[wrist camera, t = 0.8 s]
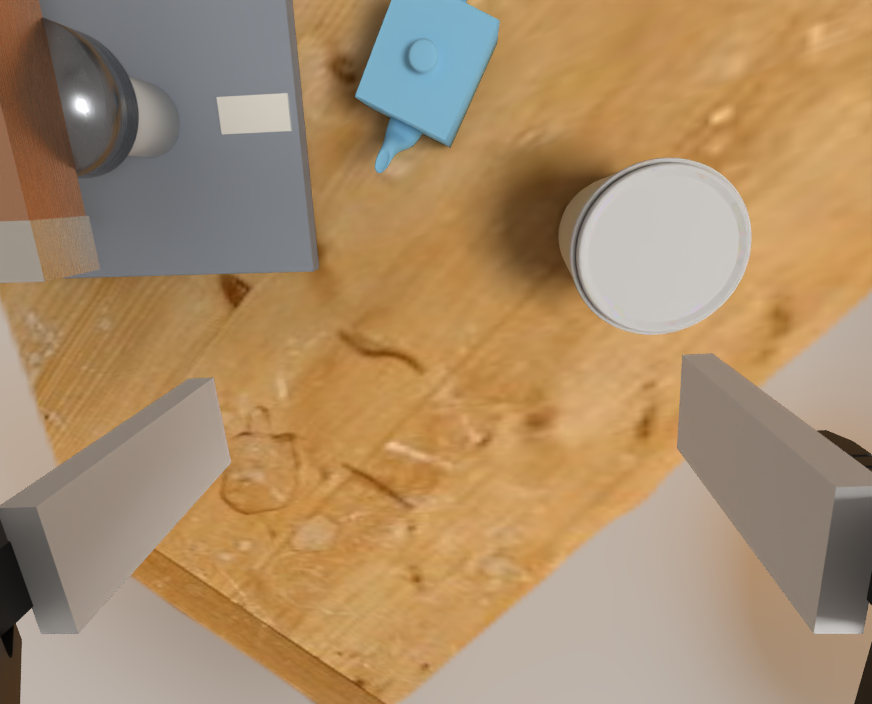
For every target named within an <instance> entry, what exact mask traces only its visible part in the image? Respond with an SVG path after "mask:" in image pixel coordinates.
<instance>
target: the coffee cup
mask: <svg viewBox="0 0 872 704" xmlns="http://www.w3.org/2000/svg"><path fill="white" fill-rule="evenodd" d="M558 241H559V247H560V251H561V254H562V257H563V260H564V262H565V264H566V266H567V268H568V270H569V272H570V274H571V276H572V278H573V280H574V283H575V286H576V288H577V290H578V292H579V294H580V296H581V298H582V299H583V301H584V302H585V303H586V305H587V306H588V307H589V308H590V309H591V310H592V311H593V312H594V313H595V314H596V315H597V316H598V317H599V318H601V319H602V320H604V321H605V322H607V323H609V324H610V325H612V326H614V327H617V328H619V329H622V330H624V331H628V332H632V333H638V334H648V335H655V334H666V333H671V332H675V331H679V330H682V329H685V328H688V327H690V326H692V325H694V324H696V323H698V322H700V321H702V320H703V319H705V318H706V317H708V316H709V315H711V314H712V313H713V312H715V311H716V310H717V309H718V308H719V307H720V306H722V305H723V304H724V302H725V301H726V300H727V299H728V298H729V297H730V296H731V294H732V293H733V292H734V291H735V289H736V287H737V286H738V284H739V282H740V280H741V278H742V277H743V275H744V272H745V269H746V266H747V263H748V260H749V256H750V249H751V224H750V220H749V215H748V212H747V209H746V206H745V204H744V202H743V200H742V198H741V196H740V195H739V193H738V191H737V190H736V189H735V187H734V186H733V185H732V184H731V183H730V182H729V181H728V180H727V179H726V178H725V177H724V176H723V175H721V174H720V173H719V172H717V171H716V170H714V169H712V168H710V167H709V166H706V165H704V164H701V163H699V162H695V161H692V160H688V159H681V158H656V159H651V160H646V161H643V162H640V163H636V164H634V165H632V166H629V167H627V168H625V169H623V170H621V171H620V172H618V173H615V174H613V175H610V176H608V177H605V178H603V179H600V180H598V181H596V182H594V183H592V184H590V185H588V186H587V187H585V188H584V189H582V190H581V191H580V192H579V193H577V194H576V195H575V196H574V198H573V199H572V200H571V201H570V203H569V204H568V205H567V207H566V209H565V211H564V213H563V215H562V218H561V221H560V225H559V232H558Z"/></svg>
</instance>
